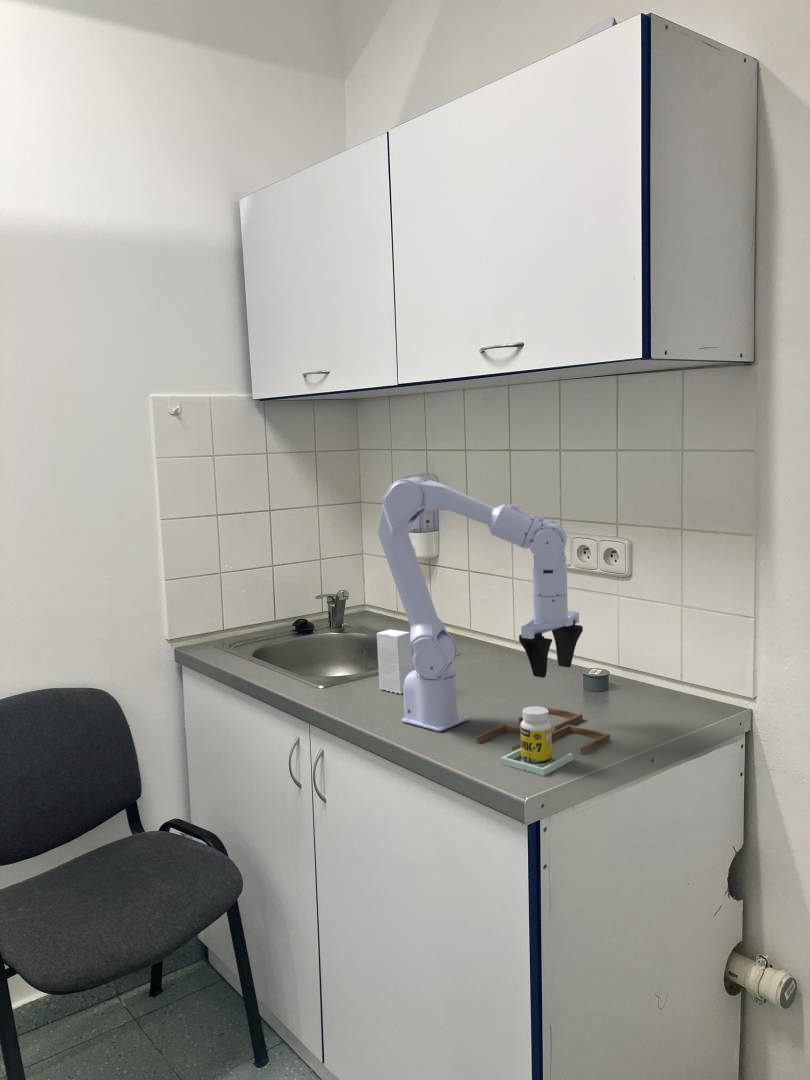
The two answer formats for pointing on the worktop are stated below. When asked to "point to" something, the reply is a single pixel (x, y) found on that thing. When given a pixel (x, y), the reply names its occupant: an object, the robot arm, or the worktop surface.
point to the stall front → (569, 728)
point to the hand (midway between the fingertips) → (552, 671)
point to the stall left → (573, 716)
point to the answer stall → (543, 771)
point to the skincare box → (394, 659)
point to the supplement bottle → (536, 737)
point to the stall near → (498, 731)
